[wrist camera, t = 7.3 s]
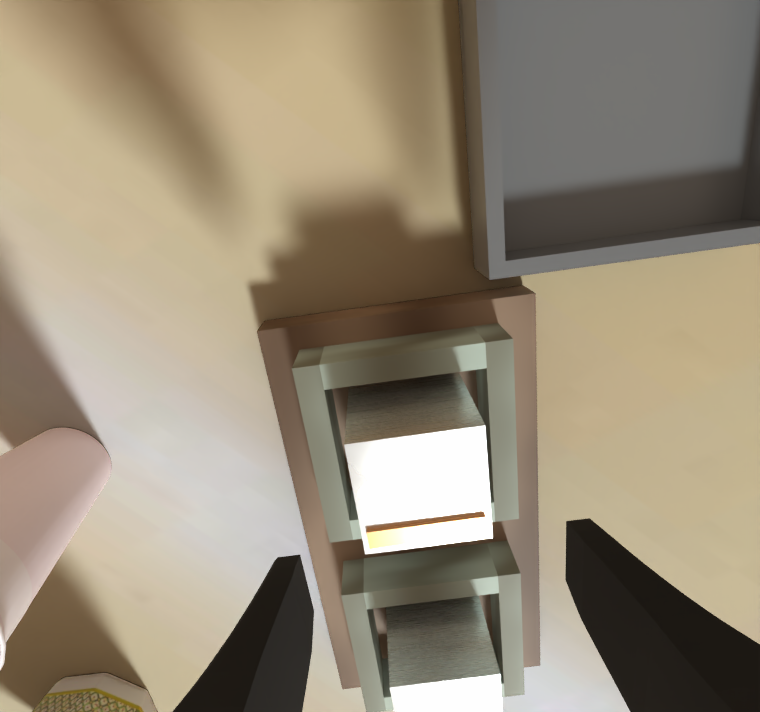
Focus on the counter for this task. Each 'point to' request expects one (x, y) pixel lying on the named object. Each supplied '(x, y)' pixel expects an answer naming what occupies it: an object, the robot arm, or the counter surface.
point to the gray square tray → (609, 130)
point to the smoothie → (42, 512)
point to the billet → (442, 658)
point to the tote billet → (417, 463)
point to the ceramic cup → (95, 695)
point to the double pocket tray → (334, 488)
